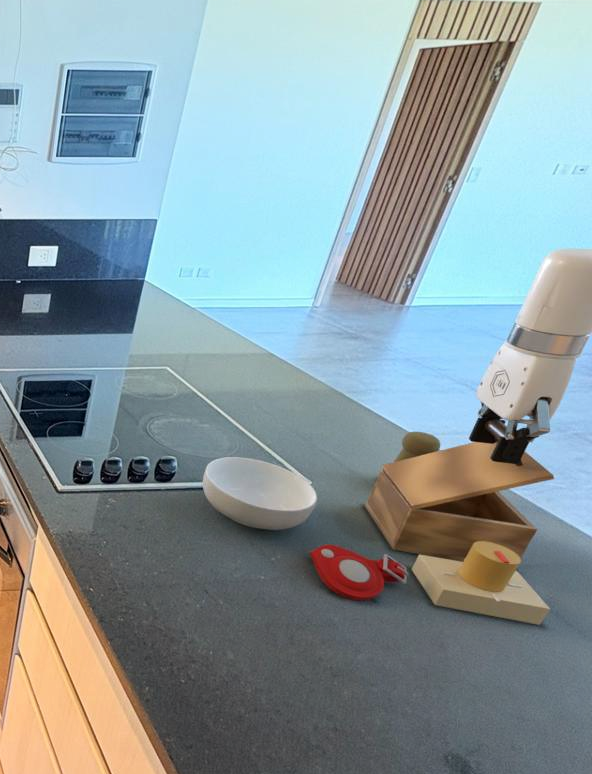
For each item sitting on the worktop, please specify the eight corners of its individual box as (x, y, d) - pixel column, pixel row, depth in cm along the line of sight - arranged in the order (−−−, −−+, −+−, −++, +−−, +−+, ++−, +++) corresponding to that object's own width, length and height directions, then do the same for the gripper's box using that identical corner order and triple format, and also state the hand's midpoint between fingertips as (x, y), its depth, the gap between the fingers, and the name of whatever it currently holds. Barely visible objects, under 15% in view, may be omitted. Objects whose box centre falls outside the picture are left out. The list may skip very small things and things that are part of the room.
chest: (472, 523, 105) (492, 485, 102) (513, 570, 95) (537, 529, 91) (365, 506, 110) (380, 469, 106) (393, 549, 99) (411, 510, 96)
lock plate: (505, 583, 92) (515, 567, 91) (542, 628, 84) (553, 611, 83) (409, 567, 96) (417, 550, 94) (436, 608, 88) (445, 591, 86)
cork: (374, 476, 119) (396, 426, 114) (408, 478, 118) (432, 428, 113) (393, 494, 113) (417, 442, 108) (429, 496, 113) (455, 444, 108)
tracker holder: (363, 606, 87) (300, 552, 93) (349, 620, 90) (289, 567, 96) (423, 569, 89) (358, 519, 96) (408, 584, 92) (346, 535, 99)
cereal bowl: (316, 555, 98) (330, 519, 95) (201, 533, 103) (211, 498, 100) (292, 498, 112) (304, 465, 109) (192, 481, 118) (200, 449, 114)
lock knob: (451, 565, 91) (466, 536, 89) (493, 572, 90) (509, 543, 88) (468, 587, 87) (485, 558, 85) (512, 595, 86) (530, 565, 83)
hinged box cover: (505, 438, 98) (495, 405, 97) (554, 479, 88) (543, 442, 86) (382, 469, 106) (371, 439, 105) (413, 509, 96) (401, 477, 94)
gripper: (481, 320, 95) (436, 424, 103) (549, 359, 80) (491, 476, 88) (542, 323, 93) (492, 429, 100) (624, 364, 78) (558, 484, 86)
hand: (492, 450), depth 94 cm, fingers closed on hinged box cover, 5 cm apart
